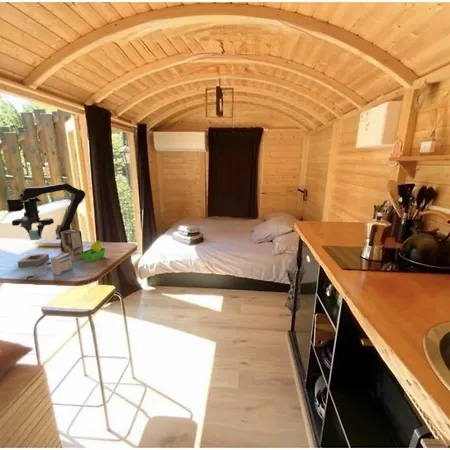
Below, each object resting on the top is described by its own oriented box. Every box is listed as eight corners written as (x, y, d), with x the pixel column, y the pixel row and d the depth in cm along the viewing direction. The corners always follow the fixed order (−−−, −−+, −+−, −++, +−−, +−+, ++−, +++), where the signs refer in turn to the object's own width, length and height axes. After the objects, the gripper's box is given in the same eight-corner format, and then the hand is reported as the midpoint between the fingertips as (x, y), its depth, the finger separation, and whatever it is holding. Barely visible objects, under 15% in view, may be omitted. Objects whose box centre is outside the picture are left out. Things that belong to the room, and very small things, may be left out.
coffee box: (84, 257, 146) (81, 231, 142) (74, 261, 141) (70, 233, 137) (74, 254, 150) (71, 228, 146) (63, 258, 144) (60, 231, 140)
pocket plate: (49, 257, 145) (48, 253, 144) (39, 265, 134) (39, 260, 134) (29, 258, 143) (28, 254, 142) (18, 266, 132) (17, 261, 132)
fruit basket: (97, 254, 152) (95, 236, 149) (108, 256, 149) (107, 238, 146) (81, 261, 141) (78, 242, 138) (93, 263, 138) (91, 244, 135)
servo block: (43, 237, 149) (41, 227, 148) (36, 240, 143) (35, 231, 141) (35, 237, 149) (34, 228, 147) (28, 240, 142) (27, 231, 141)
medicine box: (60, 275, 123) (57, 259, 121) (52, 274, 124) (50, 258, 122) (72, 269, 131) (70, 253, 129) (65, 268, 132) (63, 252, 129)
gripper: (3, 212, 132) (8, 241, 136) (42, 212, 135) (46, 240, 139) (15, 208, 143) (20, 235, 146) (52, 208, 146) (55, 234, 150)
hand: (35, 236), depth 145 cm, fingers closed on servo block, 4 cm apart
